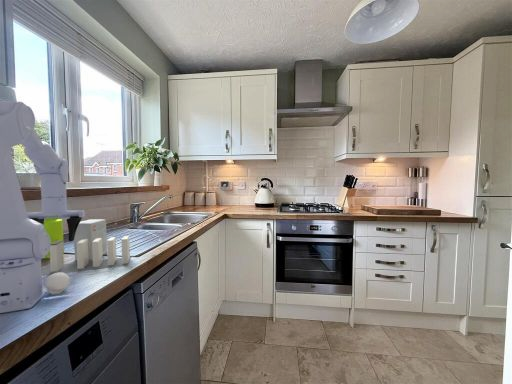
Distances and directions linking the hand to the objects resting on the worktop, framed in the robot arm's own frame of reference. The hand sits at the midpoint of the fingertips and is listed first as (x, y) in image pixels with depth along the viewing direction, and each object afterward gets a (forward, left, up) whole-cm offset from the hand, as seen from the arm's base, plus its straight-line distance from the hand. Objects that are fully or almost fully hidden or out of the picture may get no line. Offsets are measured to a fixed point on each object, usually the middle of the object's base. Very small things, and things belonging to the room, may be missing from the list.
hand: (56, 241), depth 70 cm
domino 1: (0, 0, -8) cm, 8 cm away
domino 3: (0, -10, -8) cm, 13 cm away
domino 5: (0, -18, -8) cm, 20 cm away
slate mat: (0, -8, -9) cm, 12 cm away
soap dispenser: (+17, +7, -9) cm, 21 cm away
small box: (+11, -6, -9) cm, 15 cm away
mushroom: (-18, -6, -9) cm, 21 cm away
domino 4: (0, -14, -8) cm, 17 cm away
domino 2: (0, -6, -8) cm, 11 cm away
